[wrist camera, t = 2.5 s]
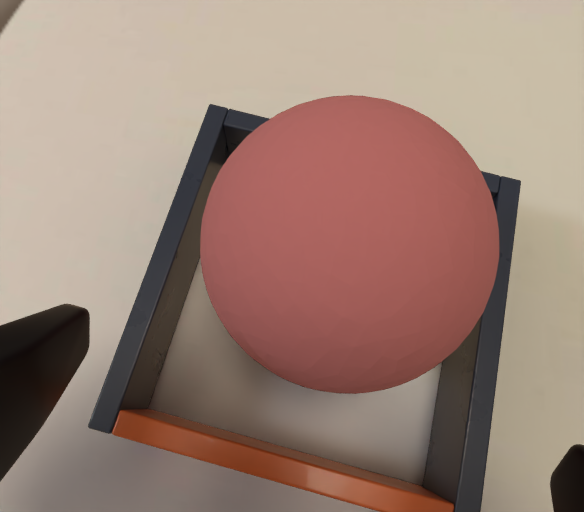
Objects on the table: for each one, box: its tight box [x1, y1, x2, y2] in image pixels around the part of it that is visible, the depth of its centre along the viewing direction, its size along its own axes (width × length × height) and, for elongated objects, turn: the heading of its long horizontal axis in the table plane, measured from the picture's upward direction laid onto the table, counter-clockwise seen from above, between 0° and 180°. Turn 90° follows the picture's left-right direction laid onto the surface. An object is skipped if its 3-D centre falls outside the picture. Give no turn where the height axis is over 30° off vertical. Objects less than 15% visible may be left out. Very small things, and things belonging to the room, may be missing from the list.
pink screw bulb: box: [200, 95, 499, 394], centre depth 14 cm, size 7×7×12 cm
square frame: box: [88, 104, 521, 512], centre depth 18 cm, size 13×13×4 cm
